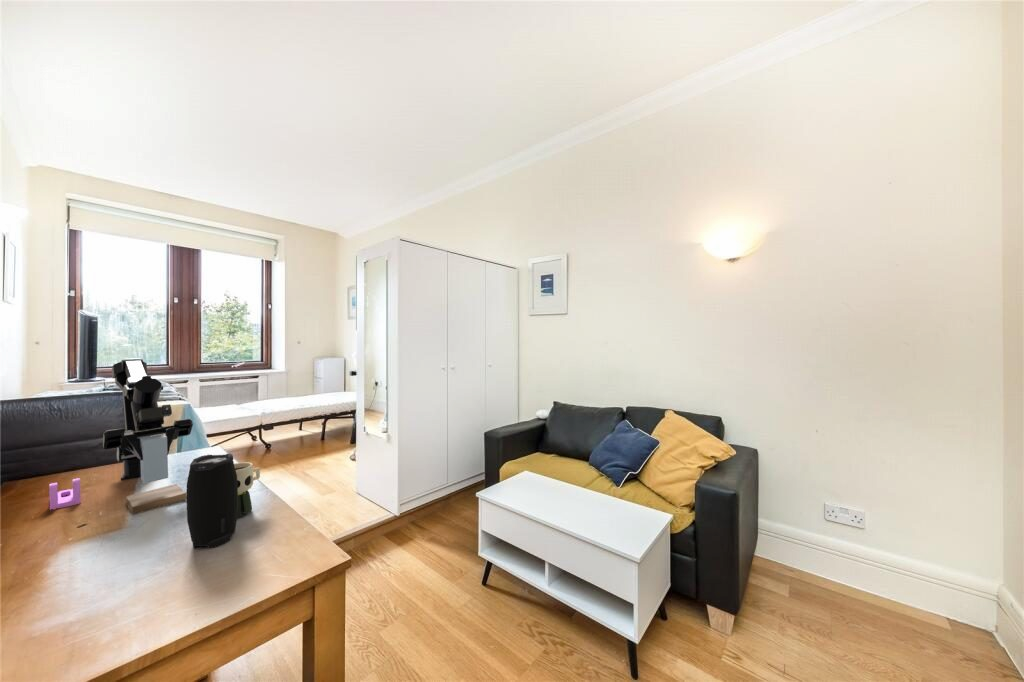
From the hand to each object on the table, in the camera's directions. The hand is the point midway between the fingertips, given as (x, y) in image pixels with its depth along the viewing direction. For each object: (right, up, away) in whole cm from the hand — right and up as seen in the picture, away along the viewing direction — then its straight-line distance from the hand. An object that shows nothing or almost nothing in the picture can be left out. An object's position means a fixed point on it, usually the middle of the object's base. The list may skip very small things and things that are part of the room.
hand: (154, 456), depth 107 cm
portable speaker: (+33, -14, -19) cm, 40 cm away
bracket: (-29, -14, +3) cm, 32 cm away
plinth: (-1, -13, +1) cm, 13 cm away
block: (-1, -7, +1) cm, 7 cm away
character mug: (+29, -14, -7) cm, 33 cm away
